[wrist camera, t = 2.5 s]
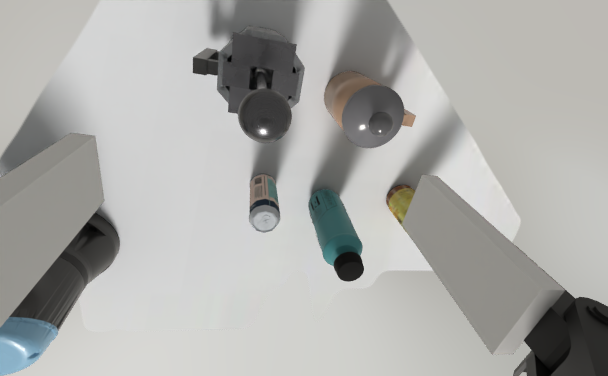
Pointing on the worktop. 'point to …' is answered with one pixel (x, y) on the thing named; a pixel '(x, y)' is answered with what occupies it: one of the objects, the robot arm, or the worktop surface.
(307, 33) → the worktop surface
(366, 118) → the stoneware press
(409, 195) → the sauce bottle
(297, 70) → the steel carafe
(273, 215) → the beer can
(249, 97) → the plunger
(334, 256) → the beverage bottle
